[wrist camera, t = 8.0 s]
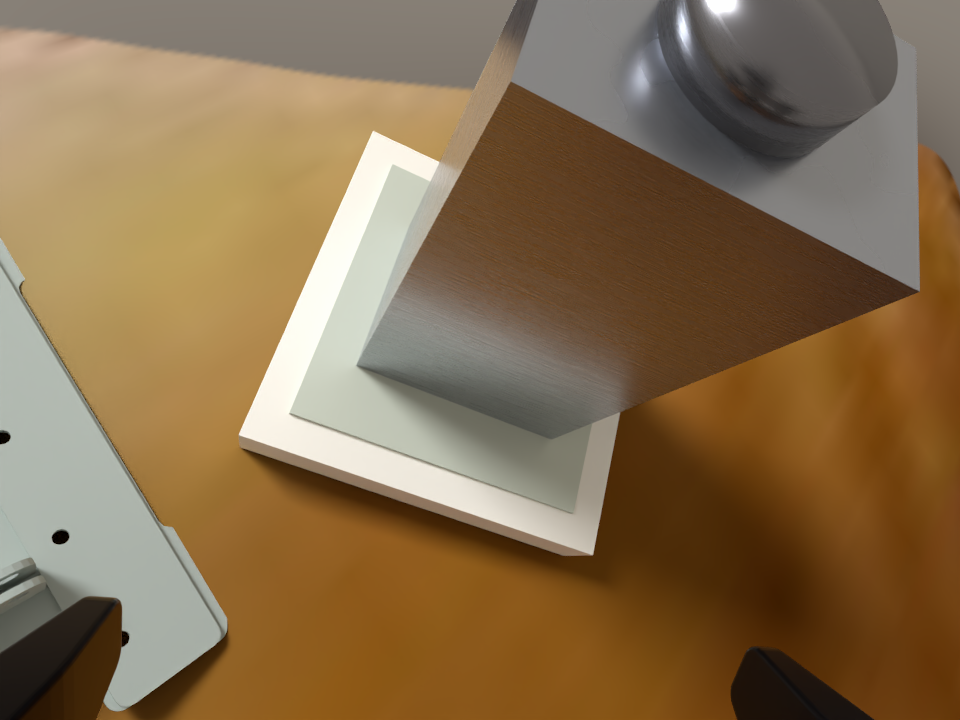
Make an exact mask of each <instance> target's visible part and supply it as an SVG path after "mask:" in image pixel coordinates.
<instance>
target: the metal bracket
mask: <svg viewBox="0 0 960 720" xmlns="http://www.w3.org/2000/svg"><path fill="white" fill-rule="evenodd" d="M24 280H25V279H24V277H23V275H22V273H21V272H20V270H19V268H18V267H17V265H16V263H15V262H14V260H13V258H12V257H11V255H10V253H9V252H8V250H7V248H6V247H5V245H4V243H3V242H2V240H1V238H0V433H1V432H4V433H8V434H9V435H10V436H11V438H10V440H9V441H8V442H7V443H6V444H0V652H1V651H3V650H4V649H6V648H7V647H9V646H10V645H12V644H13V643H15V642H16V641H18V640H19V639H21V638H22V637H24V636H25V635H27V634H28V633H30V632H31V631H33V630H34V629H36V628H37V627H39V626H40V625H42V624H43V623H45V622H46V621H48V620H49V619H51V618H53V617H54V616H56V615H57V614H59V613H60V612H62V611H63V610H65V609H66V608H68V607H69V606H71V605H72V604H74V603H75V602H77V601H78V600H80V599H82V598H84V597H86V596H100V597H114V598H117V599H119V600H120V601H121V604H122V631H123V632H126V633H127V634H129V641H128V643H127V644H126V645H125V646H124V647H121V654H120V658H119V662H118V665H117V668H116V671H115V673H114V676H113V678H112V681H111V683H110V686H109V688H108V691H107V693H106V696H105V698H104V701H103V702H104V704H105V705H106V706H107V707H108V708H109V709H110V710H113V711H123V710H125V709H127V708H129V707H130V706H132V705H133V704H135V703H137V702H138V701H139V700H141V699H142V698H144V697H145V696H146V695H148V694H149V693H150V692H152V691H153V690H154V689H156V688H157V687H159V686H160V685H161V684H163V683H164V682H165V681H167V680H168V679H169V678H171V677H172V676H174V675H175V674H176V673H178V672H179V671H180V670H182V669H183V668H184V667H186V666H187V665H189V664H190V663H191V662H193V661H194V660H195V659H197V658H198V657H199V656H201V655H202V654H204V653H205V652H206V651H208V650H209V649H210V648H212V647H213V646H215V645H216V643H218V642H219V641H220V640H221V639H222V638H223V637H224V636H225V634H226V632H227V618H226V616H225V614H224V613H223V611H222V609H221V608H220V606H219V604H218V602H217V601H216V599H215V597H214V596H213V594H212V592H211V591H210V589H209V587H208V586H207V584H206V582H205V581H204V579H203V577H202V576H201V574H200V572H199V571H198V569H197V567H196V566H195V564H194V562H193V561H192V559H191V557H190V555H189V554H188V552H187V550H186V549H185V547H184V545H183V544H182V542H181V540H180V539H179V537H178V535H177V534H176V532H175V530H174V529H173V527H167V526H163V525H162V524H161V523H160V522H159V521H158V519H157V518H156V516H155V514H154V513H153V511H152V509H151V508H150V506H149V504H148V503H147V501H146V499H145V498H144V496H143V494H142V493H141V491H140V490H139V488H138V486H137V485H136V483H135V481H134V480H133V478H132V476H131V475H130V473H129V471H128V470H127V468H126V466H125V465H124V463H123V462H122V460H121V458H120V457H119V455H118V453H117V452H116V450H115V448H114V447H113V445H112V443H111V442H110V440H109V438H108V437H107V435H106V434H105V432H104V430H103V429H102V427H101V425H100V424H99V422H98V420H97V419H96V417H95V415H94V414H93V412H92V410H91V409H90V407H89V405H88V404H87V402H86V401H85V399H84V397H83V396H82V394H81V392H80V391H79V389H78V387H77V386H76V384H75V382H74V381H73V379H72V377H71V376H70V374H69V373H68V371H67V369H66V368H65V366H64V364H63V363H62V361H61V359H60V358H59V356H58V354H57V353H56V351H55V349H54V348H53V346H52V344H51V343H50V341H49V340H48V338H47V336H46V335H45V333H44V331H43V330H42V328H41V326H40V325H39V323H38V321H37V320H36V318H35V316H34V315H33V313H32V312H31V310H30V308H29V307H28V305H27V303H26V302H25V300H24V298H23V297H22V295H21V293H20V290H19V286H20V284H21V283H22V282H23V281H24ZM58 531H66V532H67V533H68V534H69V537H70V538H69V540H68V541H67V542H66V543H64V544H61V545H58V544H55V543H54V542H53V541H52V536H53V534H55V533H56V532H58Z"/></svg>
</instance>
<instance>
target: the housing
mask: <svg viewBox="0 0 960 720" xmlns="http://www.w3.org/2000/svg"><path fill="white" fill-rule="evenodd" d="M916 75H917V74H916V48H915V47H913V46H912V45H910V44H909V43H907V42H905V41H903V40H902V39H901V38H899V37H897V36H896V35H894V34H893V33H892V29H891V27H890V24H889V22H888V19H887V17H886V15H885V13H884V11H883V9H882V7H881V5H880V3H879V1H878V0H517V1H516V3H515V5H514V7H513V9H512V11H511V13H510V15H509V17H508V20H507V22H506V24H505V26H504V28H503V30H502V32H501V34H500V37H499V38H498V41H497V43H496V45H495V47H494V49H493V51H492V53H491V55H490V57H489V60H488V61H487V64H486V66H485V68H484V70H483V72H482V74H481V76H480V79H479V81H478V82H477V85H476V87H475V89H474V91H473V93H472V95H471V97H470V99H469V101H468V103H467V106H466V108H465V110H464V112H463V114H462V116H461V118H460V120H459V122H458V125H457V127H456V129H455V131H454V133H453V135H452V137H451V139H450V141H449V143H448V146H447V148H446V150H445V152H444V154H443V156H442V158H441V160H440V162H439V164H438V167H437V169H436V171H435V173H434V175H433V177H432V179H431V181H430V183H429V185H428V188H427V190H426V192H425V194H424V196H423V198H422V200H421V202H420V204H419V206H418V209H417V211H416V213H415V215H414V217H413V219H412V221H411V223H410V225H409V227H408V230H407V232H406V235H405V238H404V240H403V243H402V246H401V248H400V251H399V254H398V256H397V259H396V261H395V264H394V267H393V269H392V272H391V275H390V277H389V280H388V283H387V285H386V288H385V290H384V293H383V296H382V298H381V301H380V304H379V306H378V309H377V312H376V314H375V317H374V319H373V322H372V325H371V327H370V330H369V333H368V335H367V338H366V341H365V343H364V346H363V348H362V351H361V354H360V356H359V359H358V362H357V364H356V366H358V367H361V368H363V369H366V370H369V371H371V372H374V373H376V374H379V375H382V376H384V377H387V378H390V379H392V380H395V381H398V382H400V383H403V384H406V385H408V386H411V387H413V388H416V389H419V390H421V391H424V392H427V393H429V394H432V395H435V396H437V397H440V398H443V399H445V400H448V401H450V402H453V403H456V404H458V405H461V406H464V407H466V408H469V409H472V410H474V411H477V412H480V413H482V414H485V415H487V416H490V417H493V418H495V419H498V420H501V421H503V422H506V423H509V424H511V425H514V426H517V427H519V428H522V429H524V430H527V431H530V432H532V433H535V434H538V435H540V436H543V437H546V438H548V439H551V440H552V439H554V438H557V437H559V436H562V435H564V434H567V433H569V432H572V431H574V430H577V429H579V428H582V427H584V426H587V425H589V424H592V423H594V422H597V421H599V420H602V419H604V418H607V417H609V416H612V415H614V414H617V413H619V412H621V411H624V410H626V409H629V408H631V407H634V406H636V405H639V404H641V403H644V402H646V401H649V400H651V399H654V398H656V397H659V396H661V395H664V394H666V393H669V392H671V391H674V390H676V389H679V388H681V387H684V386H686V385H689V384H691V383H694V382H696V381H699V380H701V379H704V378H706V377H709V376H711V375H714V374H716V373H719V372H721V371H723V370H726V369H728V368H731V367H733V366H736V365H738V364H741V363H743V362H746V361H748V360H751V359H753V358H756V357H758V356H761V355H763V354H766V353H768V352H771V351H773V350H776V349H778V348H781V347H783V346H786V345H788V344H791V343H793V342H796V341H798V340H801V339H803V338H806V337H808V336H811V335H813V334H816V333H818V332H821V331H823V330H825V329H828V328H830V327H833V326H835V325H838V324H840V323H843V322H845V321H848V320H850V319H853V318H855V317H858V316H860V315H863V314H865V313H868V312H870V311H873V310H875V309H878V308H880V307H883V306H885V305H888V304H890V303H893V302H895V301H898V300H900V299H903V298H905V297H908V296H910V295H913V294H915V293H918V292H920V277H919V208H918V141H917V76H916Z"/></svg>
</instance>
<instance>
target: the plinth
mask: <svg viewBox="0 0 960 720" xmlns="http://www.w3.org/2000/svg"><path fill="white" fill-rule="evenodd" d="M438 164H439V162H438V161H436V160H434V159H431V158H429V157H427V156H425V155H423V154H421V153H419V152H417V151H414V150H412V149H410V148H408V147H406V146H404V145H402V144H400V143H397V142H395V141H393V140H391V139H389V138H387V137H385V136H383V135H380V134H378V133H376V132H374V131H373V132H372V135H371V137H370V139H369V141H368V144H367V146H366V148H365V151H364V153H363V155H362V157H361V160H360V162H359V164H358V166H357V169H356V171H355V173H354V175H353V178H352V180H351V182H350V184H349V187H348V189H347V191H346V194H345V196H344V198H343V200H342V203H341V205H340V207H339V209H338V212H337V214H336V216H335V218H334V221H333V223H332V225H331V227H330V230H329V232H328V234H327V237H326V239H325V241H324V243H323V246H322V248H321V250H320V252H319V255H318V257H317V259H316V261H315V264H314V266H313V268H312V270H311V273H310V275H309V277H308V280H307V282H306V284H305V286H304V289H303V291H302V293H301V295H300V298H299V300H298V302H297V304H296V307H295V309H294V311H293V313H292V316H291V318H290V320H289V323H288V325H287V327H286V329H285V332H284V334H283V336H282V338H281V341H280V343H279V345H278V347H277V350H276V352H275V354H274V356H273V359H272V361H271V363H270V366H269V368H268V370H267V372H266V375H265V377H264V379H263V381H262V384H261V386H260V388H259V390H258V393H257V395H256V397H255V399H254V402H253V404H252V406H251V408H250V411H249V413H248V415H247V418H246V420H245V422H244V424H243V427H242V429H241V431H240V433H239V443H240V448H243V449H246V450H249V451H252V452H255V453H258V454H261V455H264V456H267V457H270V458H273V459H276V460H279V461H282V462H285V463H288V464H291V465H294V466H297V467H300V468H303V469H306V470H309V471H312V472H315V473H318V474H321V475H324V476H327V477H330V478H333V479H336V480H339V481H342V482H345V483H348V484H351V485H354V486H357V487H360V488H363V489H366V490H369V491H372V492H375V493H378V494H381V495H384V496H387V497H390V498H393V499H395V500H398V501H401V502H404V503H407V504H410V505H413V506H416V507H419V508H422V509H425V510H428V511H431V512H434V513H437V514H440V515H443V516H446V517H449V518H452V519H455V520H458V521H461V522H464V523H467V524H470V525H473V526H476V527H479V528H482V529H485V530H488V531H491V532H494V533H497V534H500V535H503V536H506V537H509V538H512V539H515V540H518V541H521V542H524V543H527V544H530V545H533V546H536V547H539V548H542V549H545V550H548V551H551V552H553V553H556V554H559V555H562V556H584V555H593V553H594V547H595V542H596V537H597V532H598V526H599V521H600V516H601V511H602V505H603V500H604V495H605V490H606V484H607V479H608V474H609V469H610V463H611V458H612V453H613V448H614V442H615V437H616V432H617V427H618V421H619V416H620V412H619V413H617V414H614V415H612V416H609V417H607V418H604V419H602V420H599V421H597V422H594V423H592V424H589V425H587V426H584V427H582V428H579V429H577V430H574V431H572V432H569V433H567V434H564V435H562V436H559V437H557V438H554V439H552V440H551V439H548V438H546V437H543V436H540V435H538V434H535V433H532V432H530V431H527V430H524V429H522V428H519V427H517V426H514V425H511V424H509V423H506V422H503V421H501V420H498V419H495V418H493V417H490V416H487V415H485V414H482V413H480V412H477V411H474V410H472V409H469V408H466V407H464V406H461V405H458V404H456V403H453V402H450V401H448V400H445V399H443V398H440V397H437V396H435V395H432V394H429V393H427V392H424V391H421V390H419V389H416V388H413V387H411V386H408V385H406V384H403V383H400V382H398V381H395V380H392V379H390V378H387V377H384V376H382V375H379V374H376V373H374V372H371V371H369V370H366V369H363V368H361V367H358V366H356V364H357V362H358V359H359V356H360V354H361V351H362V348H363V346H364V343H365V341H366V338H367V335H368V333H369V330H370V327H371V325H372V322H373V319H374V317H375V314H376V312H377V309H378V306H379V304H380V301H381V298H382V296H383V293H384V290H385V288H386V285H387V283H388V280H389V277H390V275H391V272H392V269H393V267H394V264H395V261H396V259H397V256H398V254H399V251H400V248H401V246H402V243H403V240H404V238H405V235H406V232H407V230H408V227H409V225H410V223H411V221H412V219H413V217H414V215H415V213H416V211H417V209H418V206H419V204H420V202H421V200H422V198H423V196H424V194H425V192H426V190H427V188H428V185H429V183H430V181H431V179H432V177H433V175H434V173H435V171H436V169H437V167H438Z"/></svg>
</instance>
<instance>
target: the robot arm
mask: <svg viewBox="0 0 960 720" xmlns="http://www.w3.org/2000/svg"><path fill="white" fill-rule="evenodd" d="M121 647H122V604H121V601H120V600H119V599H117V598H114V597H100V596H86V597H84V598H82V599H80V600H78V601H77V602H75V603H74V604H72V605H71V606H69V607H68V608H66V609H65V610H63V611H62V612H60V613H59V614H57V615H56V616H54V617H53V618H51V619H49V620H48V621H46V622H45V623H43V624H42V625H40V626H39V627H37V628H36V629H34V630H33V631H31V632H30V633H28V634H27V635H25V636H24V637H22V638H21V639H19V640H18V641H16V642H15V643H13V644H12V645H10V646H9V647H7V648H6V649H4V650H3V651H1V652H0V720H96V718H97V715H98V713H99V711H100V708H101V706H102V703H103V701H104V698H105V696H106V693H107V691H108V688H109V686H110V683H111V681H112V678H113V676H114V673H115V671H116V668H117V665H118V662H119V658H120V654H121ZM731 701H732V705H733V708H734V711H735V714H736V717H737V720H874V719H873V718H871V717H870V716H869V715H867V714H866V713H865V712H863V711H862V710H860V709H859V708H858V707H856V706H855V705H854V704H852V703H851V702H850V701H848V700H847V699H846V698H844V697H843V696H841V695H840V694H839V693H837V692H836V691H835V690H833V689H832V688H831V687H829V686H828V685H827V684H825V683H824V682H822V681H821V680H820V679H818V678H817V677H816V676H814V675H813V674H812V673H810V672H809V671H808V670H806V669H805V668H804V667H802V666H801V665H799V664H798V663H797V662H795V661H794V660H793V659H791V658H790V657H789V656H787V655H786V654H785V653H783V652H782V651H780V650H779V649H776V648H772V647H759V646H754V647H751V648H749V649H748V650H747V651H746V653H745V655H744V657H743V660H742V662H741V664H740V667H739V669H738V671H737V673H736V676H735V678H734V680H733V683H732V685H731Z"/></svg>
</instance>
